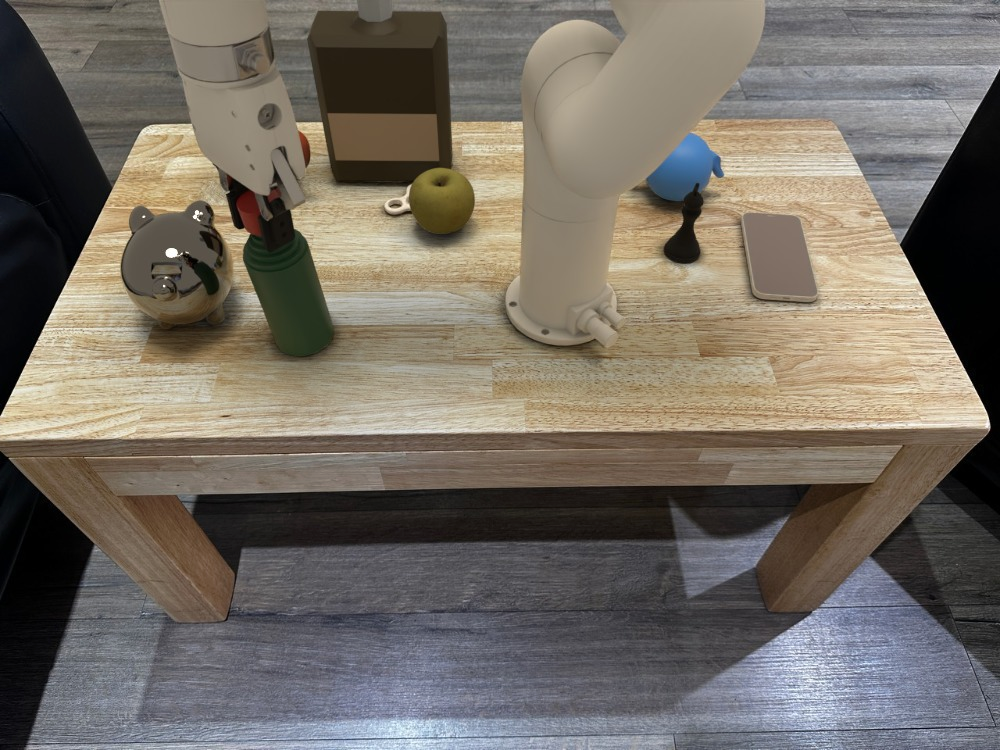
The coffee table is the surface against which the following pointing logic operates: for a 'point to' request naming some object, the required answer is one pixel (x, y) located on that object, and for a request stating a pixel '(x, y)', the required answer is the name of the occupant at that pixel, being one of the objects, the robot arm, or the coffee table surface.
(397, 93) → the bottle
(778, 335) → the coffee table surface
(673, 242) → the chess piece
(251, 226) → the cap
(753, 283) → the smartphone
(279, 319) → the sauce bottle
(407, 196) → the fidget spinner
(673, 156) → the blue mole toy
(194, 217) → the piggy bank
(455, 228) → the apple
